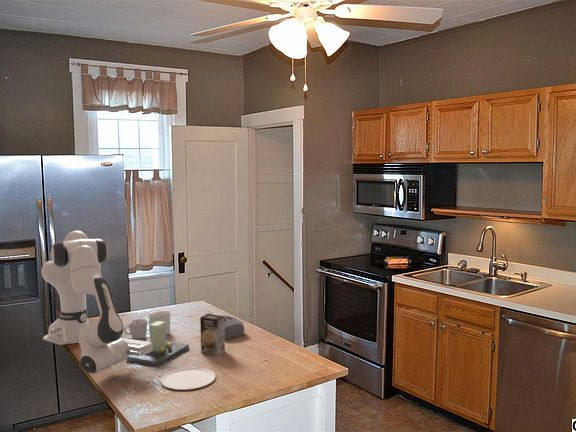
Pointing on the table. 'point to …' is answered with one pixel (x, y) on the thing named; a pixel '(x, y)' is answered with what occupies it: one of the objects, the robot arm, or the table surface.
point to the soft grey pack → (233, 328)
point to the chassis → (160, 354)
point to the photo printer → (160, 318)
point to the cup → (137, 328)
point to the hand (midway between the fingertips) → (141, 339)
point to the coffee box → (212, 334)
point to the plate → (188, 378)
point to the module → (158, 335)
